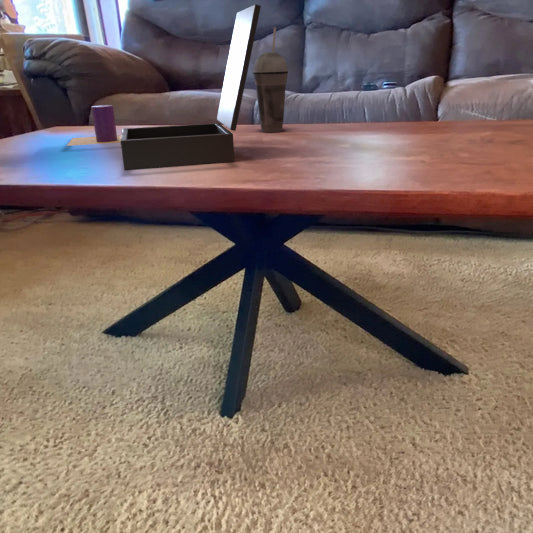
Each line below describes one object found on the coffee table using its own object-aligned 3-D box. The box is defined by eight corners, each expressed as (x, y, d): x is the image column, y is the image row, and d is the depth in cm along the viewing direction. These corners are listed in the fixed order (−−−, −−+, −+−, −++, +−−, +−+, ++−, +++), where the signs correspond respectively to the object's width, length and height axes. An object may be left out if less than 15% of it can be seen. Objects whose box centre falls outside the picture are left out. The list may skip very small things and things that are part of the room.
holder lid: (255, 3, 67) (261, 5, 67) (236, 12, 79) (241, 13, 80) (230, 129, 72) (235, 131, 73) (216, 119, 85) (221, 120, 85)
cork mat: (64, 151, 92) (64, 148, 92) (73, 139, 105) (72, 137, 105) (143, 145, 95) (143, 143, 95) (142, 135, 108) (142, 133, 108)
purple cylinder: (95, 142, 98) (90, 107, 95) (97, 139, 101) (92, 105, 99) (117, 141, 99) (112, 106, 96) (118, 138, 102) (113, 104, 100)
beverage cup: (250, 130, 111) (246, 28, 103) (281, 127, 113) (279, 28, 105) (261, 134, 104) (258, 26, 97) (294, 131, 107) (293, 26, 99)
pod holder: (125, 175, 71) (120, 140, 70) (126, 158, 84) (122, 128, 82) (234, 167, 75) (233, 133, 73) (220, 151, 87) (219, 122, 85)
